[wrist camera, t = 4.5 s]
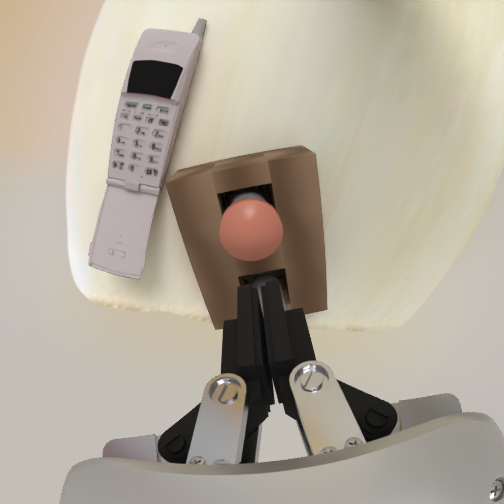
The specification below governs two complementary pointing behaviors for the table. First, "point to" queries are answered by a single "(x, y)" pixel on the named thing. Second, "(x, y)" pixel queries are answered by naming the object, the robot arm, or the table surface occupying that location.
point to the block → (291, 215)
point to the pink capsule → (250, 226)
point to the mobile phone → (143, 146)
